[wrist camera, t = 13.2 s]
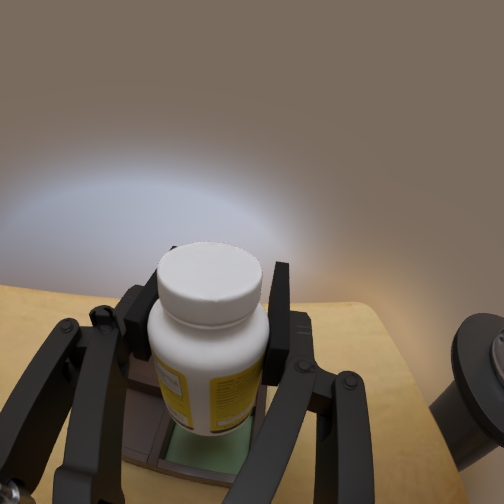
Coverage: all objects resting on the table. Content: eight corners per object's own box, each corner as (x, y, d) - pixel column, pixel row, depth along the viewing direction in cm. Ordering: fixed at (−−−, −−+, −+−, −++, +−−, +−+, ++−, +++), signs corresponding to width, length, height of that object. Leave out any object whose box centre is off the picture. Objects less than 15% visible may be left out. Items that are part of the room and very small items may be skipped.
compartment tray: (267, 354, 29) (270, 340, 28) (253, 490, 15) (257, 486, 14) (134, 328, 29) (131, 313, 28) (77, 439, 16) (66, 429, 15)
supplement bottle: (256, 373, 17) (283, 243, 12) (248, 445, 12) (283, 329, 8) (177, 359, 17) (167, 226, 13) (154, 425, 13) (110, 296, 8)
